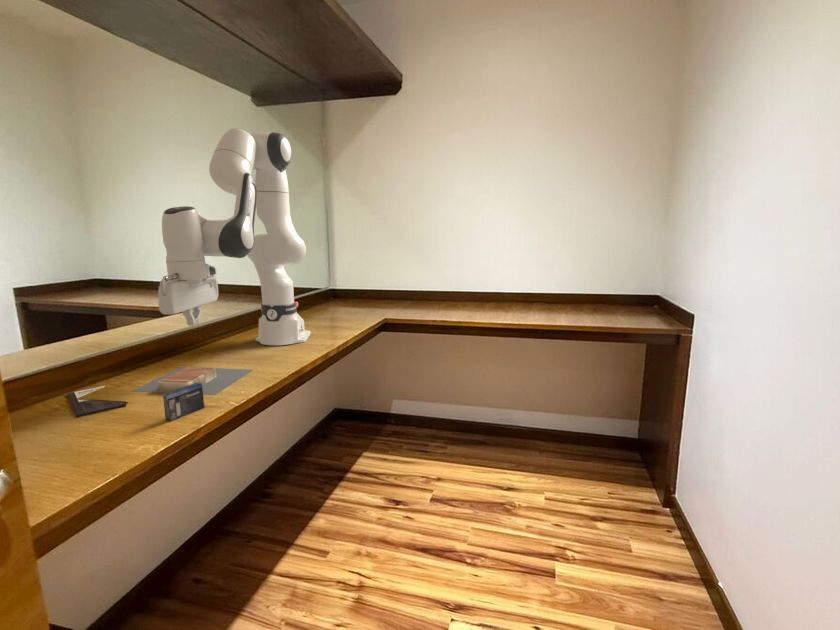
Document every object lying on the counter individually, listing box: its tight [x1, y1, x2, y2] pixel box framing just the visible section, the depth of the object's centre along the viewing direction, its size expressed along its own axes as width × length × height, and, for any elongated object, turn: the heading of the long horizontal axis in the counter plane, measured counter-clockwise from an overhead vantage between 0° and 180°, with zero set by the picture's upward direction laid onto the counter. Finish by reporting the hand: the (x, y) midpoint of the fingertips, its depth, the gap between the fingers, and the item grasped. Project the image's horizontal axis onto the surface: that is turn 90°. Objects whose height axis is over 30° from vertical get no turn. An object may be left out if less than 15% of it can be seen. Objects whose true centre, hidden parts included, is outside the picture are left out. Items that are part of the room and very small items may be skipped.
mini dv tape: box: [162, 382, 205, 423], centre depth 95 cm, size 8×2×6 cm, turn 154°
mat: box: [130, 366, 254, 396], centre depth 116 cm, size 20×22×1 cm
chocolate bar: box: [66, 385, 127, 418], centre depth 103 cm, size 9×1×18 cm
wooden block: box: [158, 366, 216, 392], centre depth 112 cm, size 3×8×12 cm
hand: (193, 324), depth 114 cm, fingers closed
